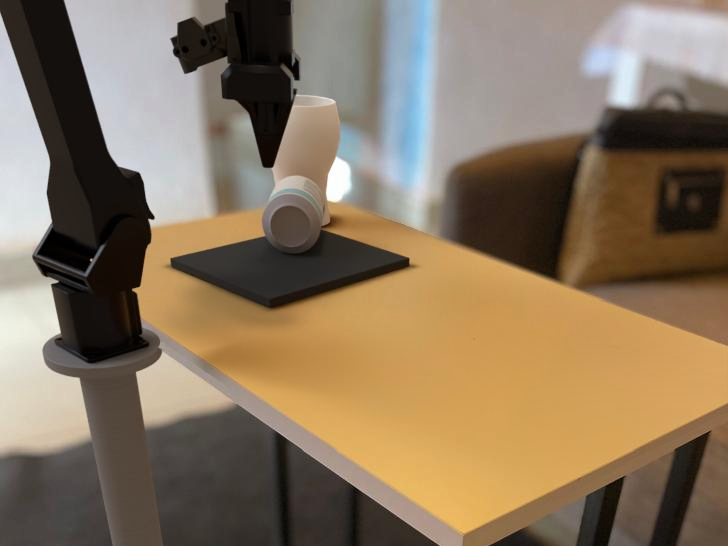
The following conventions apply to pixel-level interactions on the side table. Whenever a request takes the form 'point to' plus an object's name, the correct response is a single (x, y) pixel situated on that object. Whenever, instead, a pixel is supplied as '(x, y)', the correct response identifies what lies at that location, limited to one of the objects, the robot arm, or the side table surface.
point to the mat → (288, 267)
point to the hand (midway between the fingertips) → (268, 167)
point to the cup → (309, 143)
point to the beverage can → (294, 215)
